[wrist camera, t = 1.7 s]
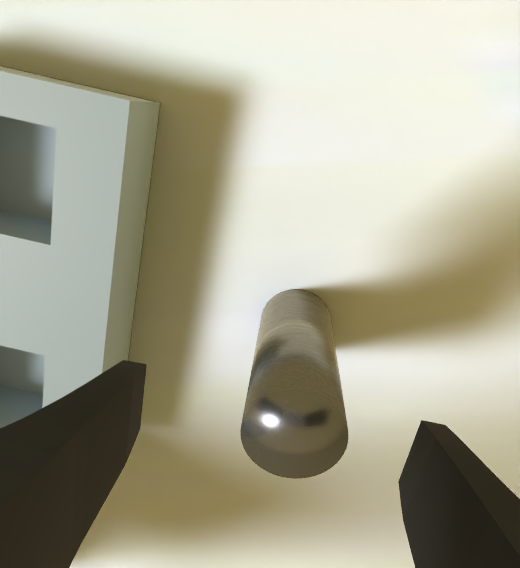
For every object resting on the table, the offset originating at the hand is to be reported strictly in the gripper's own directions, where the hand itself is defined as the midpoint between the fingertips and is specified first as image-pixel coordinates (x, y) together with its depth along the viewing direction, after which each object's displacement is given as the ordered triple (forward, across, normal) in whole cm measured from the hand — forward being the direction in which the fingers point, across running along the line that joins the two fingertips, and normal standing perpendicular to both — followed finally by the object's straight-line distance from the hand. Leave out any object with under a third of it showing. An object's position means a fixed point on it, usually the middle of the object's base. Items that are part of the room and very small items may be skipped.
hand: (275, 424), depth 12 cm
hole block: (+9, +11, +1) cm, 15 cm away
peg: (+9, -1, +1) cm, 10 cm away
